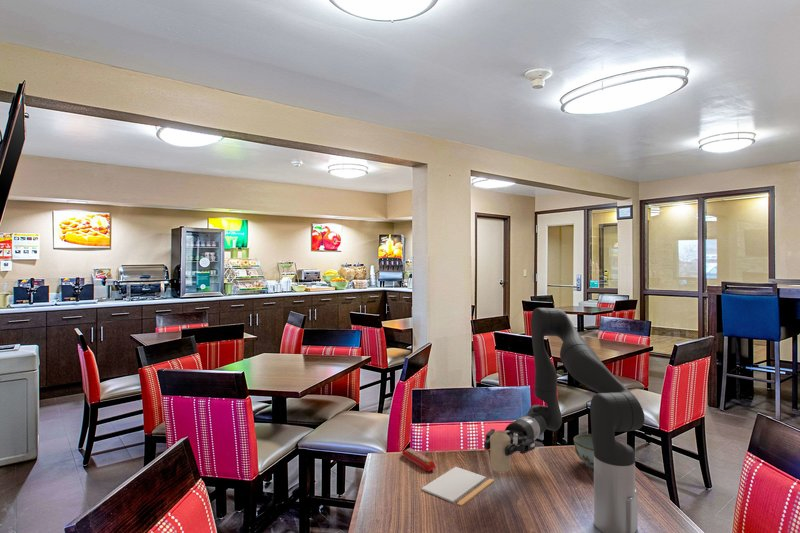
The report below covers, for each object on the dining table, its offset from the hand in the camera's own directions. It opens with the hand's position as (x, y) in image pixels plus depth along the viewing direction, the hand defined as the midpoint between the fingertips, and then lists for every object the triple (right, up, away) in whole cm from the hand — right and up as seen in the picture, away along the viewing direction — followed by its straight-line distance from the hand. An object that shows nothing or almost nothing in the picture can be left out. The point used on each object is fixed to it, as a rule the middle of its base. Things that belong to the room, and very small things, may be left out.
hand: (496, 449), depth 122 cm
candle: (+2, -6, +2) cm, 7 cm away
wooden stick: (-4, -15, +6) cm, 17 cm away
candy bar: (-20, -15, +25) cm, 36 cm away
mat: (-10, -15, +11) cm, 21 cm away
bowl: (+37, -15, +22) cm, 46 cm away
